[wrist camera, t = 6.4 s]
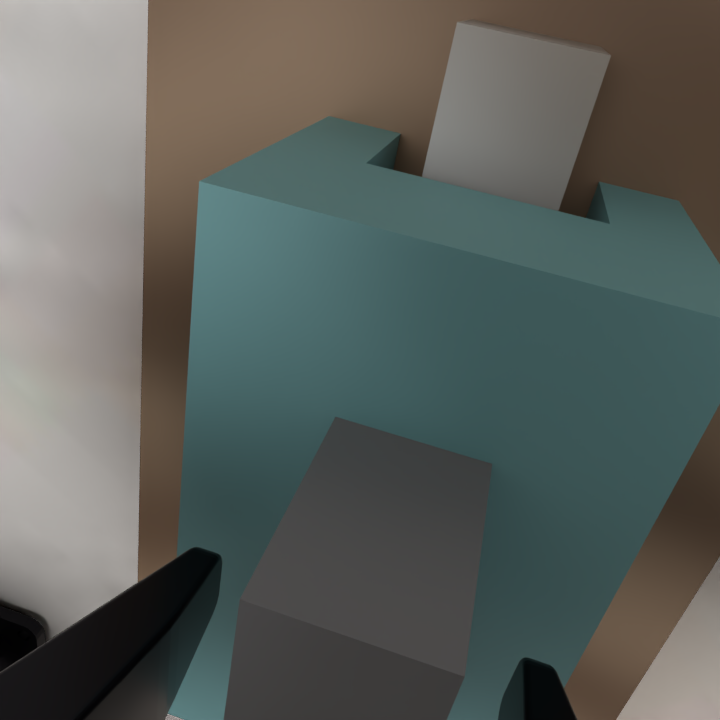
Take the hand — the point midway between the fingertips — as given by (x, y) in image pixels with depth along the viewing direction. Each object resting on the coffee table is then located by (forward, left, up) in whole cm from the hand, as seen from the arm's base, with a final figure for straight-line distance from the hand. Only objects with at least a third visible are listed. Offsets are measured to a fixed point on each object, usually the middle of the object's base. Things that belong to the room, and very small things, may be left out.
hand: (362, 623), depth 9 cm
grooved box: (0, 0, -6) cm, 6 cm away
